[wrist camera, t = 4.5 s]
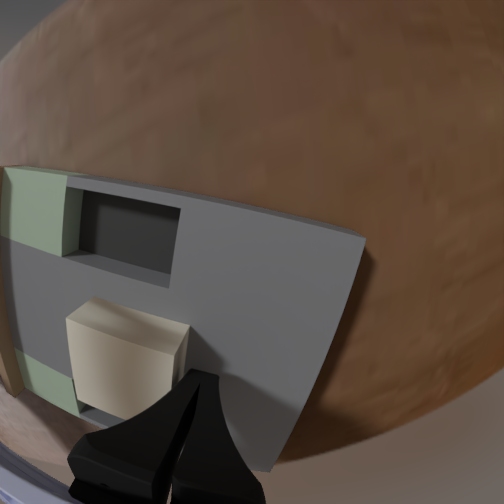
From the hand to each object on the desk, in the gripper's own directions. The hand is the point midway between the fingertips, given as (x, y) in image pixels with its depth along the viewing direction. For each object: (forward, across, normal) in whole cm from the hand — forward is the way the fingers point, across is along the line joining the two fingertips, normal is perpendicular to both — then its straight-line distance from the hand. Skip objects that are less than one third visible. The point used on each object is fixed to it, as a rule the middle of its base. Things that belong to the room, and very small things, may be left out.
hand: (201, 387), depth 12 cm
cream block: (+1, +4, 0) cm, 4 cm away
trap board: (+3, +5, 0) cm, 6 cm away
